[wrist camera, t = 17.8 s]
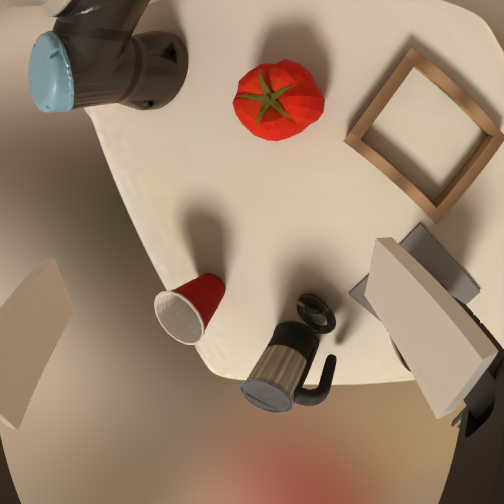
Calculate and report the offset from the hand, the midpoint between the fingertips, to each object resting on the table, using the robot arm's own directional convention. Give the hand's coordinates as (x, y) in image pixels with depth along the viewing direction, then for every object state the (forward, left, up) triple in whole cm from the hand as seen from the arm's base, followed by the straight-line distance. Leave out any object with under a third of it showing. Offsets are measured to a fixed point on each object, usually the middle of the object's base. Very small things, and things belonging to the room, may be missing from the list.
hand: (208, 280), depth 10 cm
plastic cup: (-5, -33, -31) cm, 45 cm away
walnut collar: (+7, +11, -31) cm, 34 cm away
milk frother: (+14, -26, -31) cm, 43 cm away
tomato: (-10, +3, -31) cm, 33 cm away
